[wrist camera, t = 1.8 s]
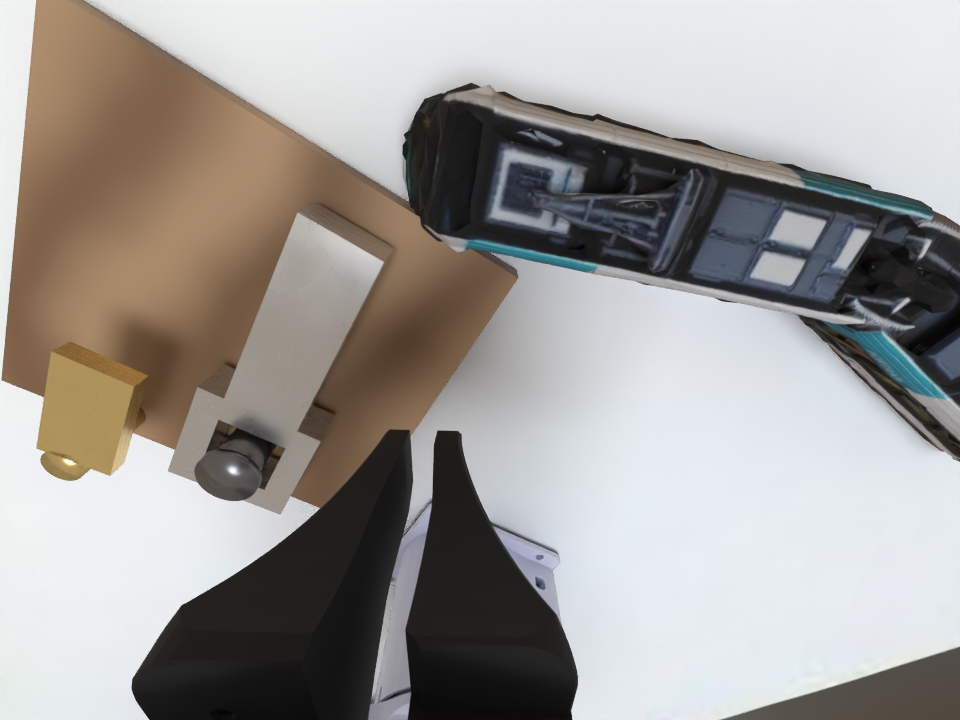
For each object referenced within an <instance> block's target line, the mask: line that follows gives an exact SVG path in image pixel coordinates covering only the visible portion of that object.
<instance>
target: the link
mask: <svg viewBox="0 0 960 720" xmlns="http://www.w3.org/2000/svg"><path fill="white" fill-rule="evenodd" d="M393 250H394V248H393V247H392V246H390V245H388V244H386V243H385V242H383V241H381V240H380V239H378V238H376V237H375V236H373V235H371V234H369V233H368V232H366V231H364V230H363V229H361V228H359V227H357V226H356V225H354V224H352V223H351V222H349V221H347V220H346V219H344V218H342V217H340V216H339V215H337V214H335V213H334V212H332V211H330V210H328V209H327V208H325V207H323V206H322V205H320V204H318V203H317V204H315V205H313V206H311V207H308V208H306V209H304V210H302V211H299V212H297V215H296V218H295V220H294V223H293V225H292V228H291V230H290V233H289V235H288V238H287V240H286V243H285V245H284V248H283V251H282V253H281V256H280V258H279V261H278V263H277V266H276V268H275V271H274V273H273V276H272V278H271V281H270V284H269V286H268V289H267V291H266V294H265V296H264V299H263V301H262V304H261V306H260V309H259V311H258V314H257V316H256V319H255V322H254V324H253V327H252V329H251V332H250V334H249V337H248V339H247V342H246V344H245V347H244V349H243V352H242V355H241V357H240V360H239V362H238V365H237V367H236V369H234V368H232V367H229V366H227V365H225V364H222V365H221V366H220V367H219V368H218V369H217V370H216V371H215V372H214V373H213V374H211V375H210V376H209V377H208V378H207V379H206V380H205V381H204V382H203V383H201V384H200V385H199V386H198V387H197V390H196V393H195V395H194V398H193V401H192V404H191V407H190V410H189V412H188V415H187V418H186V421H185V424H184V427H183V429H182V432H181V435H180V438H179V441H178V444H177V446H176V449H175V452H174V455H173V458H172V461H171V463H170V466H169V469H168V471H169V472H172V473H174V474H177V475H179V476H182V477H185V478H187V479H190V480H192V481H195V482H197V480H196V478H195V474H194V469H195V466H196V464H197V463H198V462H199V460H200V459H201V458H202V457H203V456H204V455H205V454H206V453H208V452H209V451H212V450H215V449H219V448H220V447H221V446H222V445H223V443H224V442H225V441H226V440H227V438H225V437H224V436H225V433H226V431H227V428H228V426H229V424H230V425H232V426H234V427H237V428H239V429H241V430H244V431H246V432H249V433H251V434H253V435H256V436H258V437H260V438H263V439H265V440H267V441H270V442H272V443H274V444H277V445H279V446H281V447H284V448H286V449H285V451H284V452H283V454H282V456H281V458H280V460H277V459H275V458H273V457H269V459H268V460H267V462H266V463H265V465H264V466H263V468H262V470H261V474H262V481H261V484H260V486H259V487H258V489H257V490H256V492H255V493H254V494H253V495H252V496H251V497H249V498H248V499H245V500H244V501H247V502H249V503H252V504H254V505H257V506H260V507H262V508H265V509H267V510H270V511H272V512H275V513H278V514H281V512H282V510H283V509H284V507H285V505H286V503H287V501H288V500H289V498H290V496H291V494H292V492H293V491H294V489H295V487H296V485H297V483H298V482H299V480H300V478H301V476H302V474H303V473H304V471H305V469H306V467H307V465H308V464H309V462H310V460H311V458H312V456H313V455H314V453H315V451H316V449H317V448H318V446H319V444H320V442H321V440H322V438H323V436H324V434H325V433H326V431H327V429H328V427H329V425H330V423H331V421H332V419H333V417H334V415H333V414H331V413H329V412H327V411H325V410H323V409H320V408H318V407H316V406H314V405H313V404H314V402H315V400H316V398H317V397H318V395H319V393H320V391H321V389H322V387H323V385H324V383H325V381H326V379H327V377H328V375H329V373H330V371H331V370H332V368H333V366H334V364H335V362H336V360H337V358H338V356H339V354H340V352H341V350H342V348H343V346H344V344H345V343H346V341H347V339H348V337H349V335H350V333H351V331H352V329H353V327H354V325H355V323H356V321H357V319H358V317H359V316H360V314H361V312H362V310H363V308H364V306H365V304H366V302H367V300H368V298H369V296H370V294H371V292H372V290H373V289H374V287H375V285H376V283H377V281H378V279H379V277H380V275H381V273H382V271H383V269H384V267H385V265H386V263H387V262H388V260H389V258H390V256H391V254H392V252H393Z"/></svg>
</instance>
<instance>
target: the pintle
mask: <svg viewBox="0 0 960 720" xmlns="http://www.w3.org/2000/svg"><path fill="white" fill-rule="evenodd" d="M276 446H277V444H274V443H272V442H270V441H267V440H265V439H263V438H260V437H258V436H256V435H253V434H251V433H249V432H246V431H244V430H241V429H239V428H236V429H235V430H234V431H233V432H232V434H231V435H230V436H229V437H228V438H227V440H226V441H225V442H224V443H223V445H222V446H221V447H220V448H219V449H215V450H212V451H209V452H208V453H206V454H205V455H204V456H203V457H202V458H201V459H200V460H199V462H198V463H197V464H196V466H195V469H194V474H195V478H196V480H197V482H198V483H199V485H200V486H201V487H202V488H203V489H204V490H205V491H207V492H208V493H210V494H211V495H213V496H215V497H217V498H220V499H224V500H229V501H240V500H245V499H248V498H249V497H251V496H252V495H253V494H254V493H255V492H256V490H257V489H258V487H259V486H260V484H261V481H262V474H261V470H262V468H263V466H264V465H265V463H266V462H267V460H268V459H269V457H270V456H271V454H272V453H273V451H274V450H275V448H276Z"/></svg>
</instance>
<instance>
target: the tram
mask: <svg viewBox="0 0 960 720" xmlns="http://www.w3.org/2000/svg"><path fill="white" fill-rule="evenodd" d="M404 136H405V139H406V140H405V143H404V144H403V156H404V162H403V176H404V179H405V183H406V186H407V190H408V196H409V201H410V207H411V208H413V209H414V211H415V214H416V215H417V216H419V217H420V221H421V226H422V228H423V229H424V230H425V231H426V232H427V233H428V234H430V235H431V236H432V237H433V238H434V239H435V240H437V241H439V242H445V243H446V244H447V245H448V246H449V247H451V248H452V249H453V250H455V251H456V252H462V251H465V250H469V249H474V250H483V251H488V252H493V253H498V254H503V255H508V256H513V257H517V258H522V259H526V260H531V261H535V262H540V263H545V264H550V265H555V266H560V267H564V268H569V269H574V270H578V271H583V272H587V273H592V274H597V275H603V276H609V277H615V278H620V279H626V280H632V281H636V282H639V283H642V284H645V285H653V286H657V287H662V288H668V289H674V290H679V291H684V292H689V293H694V294H699V295H704V296H709V297H714V298H716V299H718V300H720V301H724V302H734V303H742V304H746V305H751V306H756V307H761V308H765V309H770V310H776V311H782V312H787V313H793V314H797V315H798V316H799V317H800V318H801V319H802V321H803V322H804V323H805V324H806V325H807V326H808V327H810V328H812V329H813V330H814V331H815V332H816V333H817V334H818V335H819V336H820V337H821V338H822V340H823V341H825V342H827V343H828V344H829V346H830V347H831V349H832V350H833V351H834V352H835V353H836V354H837V355H838V356H839V357H840V358H841V359H842V360H843V361H844V362H845V363H846V364H847V365H848V366H850V367H851V368H852V369H853V371H854V372H855V373H856V374H857V375H858V376H859V377H860V378H861V379H863V380H864V381H865V382H866V383H867V384H868V385H869V386H870V387H871V388H872V390H874V391H875V392H877V393H878V394H879V395H881V396H882V397H883V398H884V399H885V400H886V401H887V402H888V403H889V404H890V405H891V406H892V407H893V408H894V409H895V410H896V411H897V412H898V413H899V414H900V415H901V416H902V417H903V418H904V419H905V420H906V421H907V422H908V423H909V424H910V425H911V426H912V427H913V428H914V429H915V430H916V431H917V432H918V433H919V434H920V435H921V436H922V437H923V438H924V439H926V440H927V441H928V442H930V443H931V444H932V445H934V446H935V447H936V448H938V449H939V450H940V451H945V452H946V453H948V454H949V455H951V456H952V458H953V460H957V461H959V462H960V225H958V224H956V223H955V222H953V221H952V220H950V219H949V218H947V217H946V216H943V215H941V214H939V213H937V212H935V211H933V210H932V208H931V207H929V206H928V205H926V204H924V203H923V202H921V201H918V200H915V199H912V198H908V197H905V196H901V195H898V194H893V193H888V192H883V191H878V190H873V189H872V188H871V186H870V185H868V184H864V183H860V182H856V181H852V180H848V179H844V178H840V177H836V176H832V175H827V174H822V173H817V172H812V171H807V170H805V169H802V168H800V167H798V166H795V165H793V164H780V163H775V162H773V161H761V160H757V159H753V158H749V157H745V156H742V155H738V154H734V153H730V152H726V151H722V150H719V149H716V148H714V147H712V146H709V145H707V144H705V143H703V142H700V141H698V140H690V139H679V138H670V137H667V136H664V135H661V134H658V133H655V132H652V131H649V130H646V129H642V128H639V127H636V126H632V125H629V124H625V123H622V122H618V121H615V120H612V119H610V118H607V117H605V116H602V115H599V114H596V115H594V116H589V115H582V114H576V113H571V112H568V111H565V110H562V109H559V108H556V107H553V106H549V105H543V104H537V103H531V102H524V101H522V100H520V99H518V98H516V97H514V96H512V95H510V94H508V93H507V92H495V90H494V89H493V88H492V87H491V86H490V85H488V86H484V87H480V86H477V85H475V84H473V83H470V84H467V85H464V86H461V87H458V88H456V89H453V90H450V91H447V92H446V93H444V94H443V93H440V94H437V95H435V96H432V97H429V98H426V99H424V101H423V103H422V104H421V106H420V108H419V109H418V111H417V112H416V114H415V116H414V119H413V121H412V123H411V125H410V127H409V130H408V132H406V133H405V134H404Z"/></svg>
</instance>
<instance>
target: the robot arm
mask: <svg viewBox="0 0 960 720" xmlns="http://www.w3.org/2000/svg"><path fill="white" fill-rule="evenodd" d="M412 485H413V472H412V456H411V440H410V430H395V429H390V430H388V431H387V432H386V433H385V435H384V436H383V437H382V439H381V440H380V442H379V443H378V444H377V446H376V447H375V448H374V450H373V451H372V452H371V453H370V455H369V456H368V457H367V458H366V460H365V461H364V462H363V463H362V464H361V466H360V467H359V468H358V469H357V470H356V471H355V473H354V474H353V475H352V476H351V477H350V478H349V480H348V481H347V482H346V483H345V484H344V485H343V486H342V487H341V488H340V489H339V490H338V491H337V492H336V493H335V494H334V495H333V497H332V498H331V499H330V500H329V501H328V502H327V503H325V504H324V505H323V506H322V507H321V508H320V509H319V510H318V511H317V512H316V513H315V514H314V515H313V516H312V517H310V518H309V519H308V520H307V521H306V522H305V523H304V524H302V525H301V526H300V527H299V528H298V529H296V530H295V531H294V532H293V533H292V534H290V535H289V536H288V537H287V538H285V539H284V540H283V541H282V542H280V543H279V544H278V545H276V546H275V547H274V548H272V549H271V550H270V551H268V552H267V553H266V554H264V555H263V556H261V557H260V558H258V559H257V560H255V561H254V562H253V563H251V564H250V565H248V566H247V567H245V568H244V569H242V570H241V571H239V572H238V573H236V574H234V575H233V576H231V577H230V578H228V579H226V580H225V581H223V582H221V583H220V584H218V585H216V586H215V587H213V588H211V589H210V590H208V591H206V592H204V593H203V594H201V595H199V596H198V597H196V598H194V599H192V600H191V601H189V602H187V603H185V604H183V605H182V606H181V607H180V608H179V610H178V611H177V612H176V614H175V615H174V616H173V618H172V619H171V620H170V622H169V623H168V624H167V626H166V627H165V629H164V630H163V632H162V633H161V635H160V636H159V638H158V639H157V641H156V643H155V644H154V646H153V647H152V649H151V650H150V652H149V654H148V655H147V657H146V658H145V660H144V661H143V663H142V665H141V666H140V668H139V669H138V671H137V673H136V674H135V676H134V677H133V679H132V692H133V695H134V697H135V699H136V701H137V703H138V704H139V706H140V707H141V709H142V710H143V711H144V713H145V714H146V716H147V717H148V718H149V720H572V714H571V709H572V705H573V702H574V698H575V694H576V690H577V687H578V675H577V669H576V665H575V662H574V658H573V655H572V652H571V649H570V646H569V643H568V640H567V638H566V635H565V633H564V630H563V628H562V625H561V618H560V612H559V606H558V600H557V593H556V587H555V581H554V574H553V569H554V568H555V567H557V566H558V565H559V563H560V558H559V555H558V554H556V553H554V552H552V551H549V550H547V549H545V548H542V547H540V546H538V545H536V544H533V543H531V542H529V541H526V540H524V539H522V538H519V537H517V536H515V535H513V534H510V533H508V532H506V531H503V530H501V529H499V528H497V527H494V526H492V524H491V522H490V520H489V518H488V516H487V514H486V512H485V510H484V508H483V506H482V504H481V502H480V499H479V497H478V495H477V493H476V490H475V488H474V485H473V482H472V480H471V477H470V474H469V471H468V468H467V465H466V461H465V457H464V453H463V448H462V434H460V433H459V432H458V431H437V435H436V439H435V443H434V462H433V496H432V503H430V504H429V505H428V506H427V508H426V509H425V510H424V512H423V513H422V514H421V515H420V517H419V518H418V519H417V521H416V522H415V523H414V524H413V526H412V527H411V528H410V529H409V531H408V532H407V533H406V535H405V536H404V537H403V538H402V536H403V532H404V528H405V524H406V521H407V517H408V513H409V506H410V499H411V492H412ZM390 584H392V585H395V586H396V589H395V594H394V599H393V605H392V610H391V615H390V620H389V626H388V631H387V636H386V642H385V647H384V652H383V657H382V663H381V668H380V673H379V679H378V684H377V689H376V694H375V700H374V704H370V703H371V696H372V689H373V682H374V675H375V668H376V662H377V656H378V649H379V643H380V636H381V630H382V624H383V618H384V612H385V606H386V600H387V595H388V591H389V586H390Z"/></svg>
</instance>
